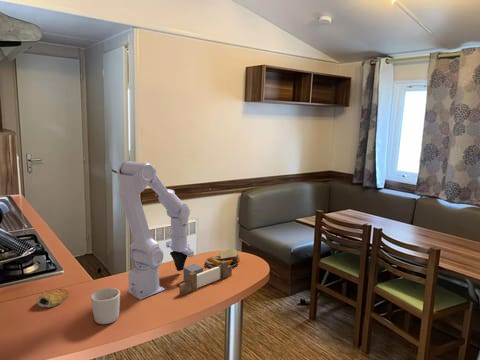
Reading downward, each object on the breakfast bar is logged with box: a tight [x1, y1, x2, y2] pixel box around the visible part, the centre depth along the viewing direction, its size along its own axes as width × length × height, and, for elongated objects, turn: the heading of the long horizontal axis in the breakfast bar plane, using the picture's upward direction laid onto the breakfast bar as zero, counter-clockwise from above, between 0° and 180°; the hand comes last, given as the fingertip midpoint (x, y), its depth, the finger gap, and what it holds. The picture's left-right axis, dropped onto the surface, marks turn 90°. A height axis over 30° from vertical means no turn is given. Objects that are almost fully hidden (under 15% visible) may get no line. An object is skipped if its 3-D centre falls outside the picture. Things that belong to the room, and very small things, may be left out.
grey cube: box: [182, 263, 204, 282], centre depth 132 cm, size 5×5×5 cm
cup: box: [90, 287, 121, 325], centre depth 108 cm, size 11×8×8 cm
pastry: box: [36, 287, 69, 308], centre depth 118 cm, size 9×7×4 cm
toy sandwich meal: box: [205, 248, 241, 269], centre depth 147 cm, size 12×14×5 cm
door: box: [197, 265, 222, 289], centre depth 130 cm, size 11×1×5 cm, turn 135°
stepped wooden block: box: [179, 260, 233, 296], centre depth 129 cm, size 22×2×6 cm, turn 135°
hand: (179, 270), depth 138 cm, fingers closed
